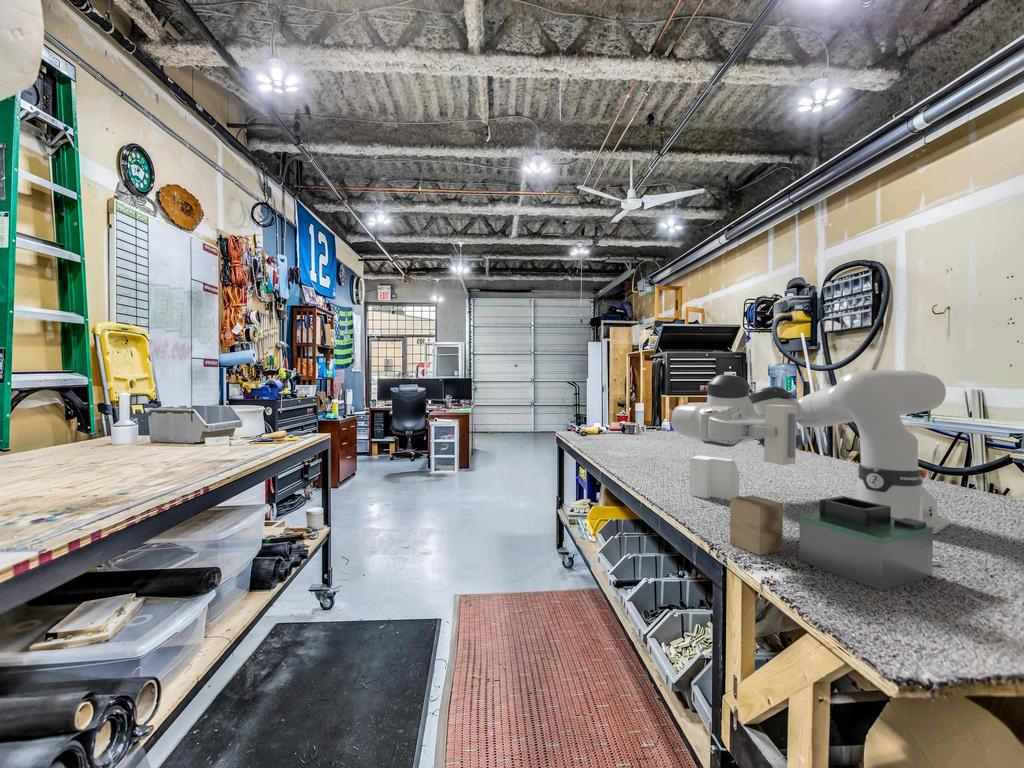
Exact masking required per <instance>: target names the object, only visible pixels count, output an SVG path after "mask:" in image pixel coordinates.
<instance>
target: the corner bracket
mask: <svg viewBox="0 0 1024 768" xmlns="http://www.w3.org/2000/svg"><path fill="white" fill-rule="evenodd" d="M740 475H741V474H740V471H739V468H738V467H737V463H736V462H735V459H729V458H722V457H714V456H707V455H700V454H699V455H696V456H693V457H689V496H690V495H694V496H699V497H703V498H702V499H704V498H708V499H710V498H709V497H711V496H713V497H717V498H716V499H718V498H722V499H721V500H723V499H727V500H726V501H729V500H731V498H735V497H736V498H737V496H738V497H740V478H741V477H740ZM694 496H693V497H694ZM699 497H698V498H699ZM713 497H711V498H713Z"/></svg>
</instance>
